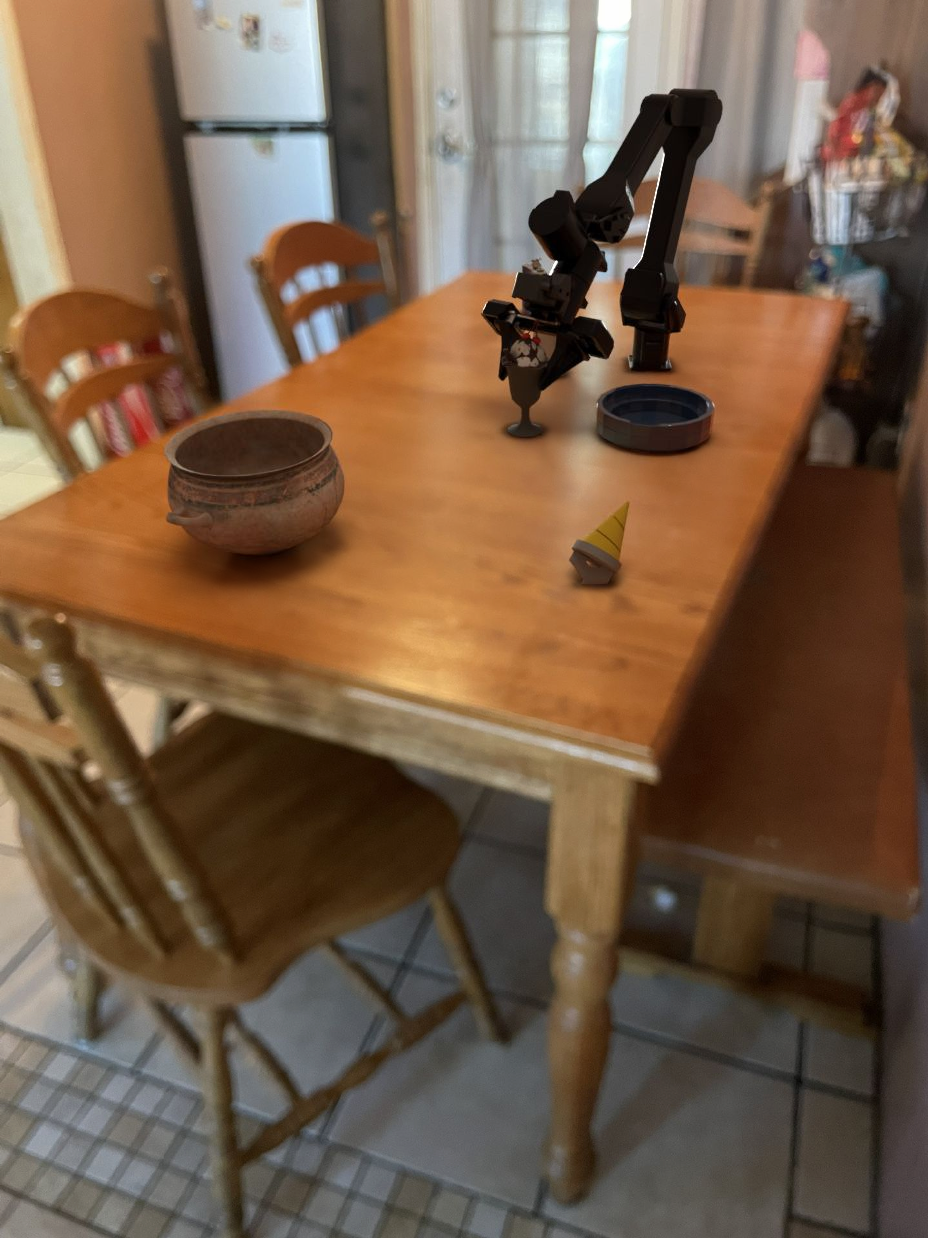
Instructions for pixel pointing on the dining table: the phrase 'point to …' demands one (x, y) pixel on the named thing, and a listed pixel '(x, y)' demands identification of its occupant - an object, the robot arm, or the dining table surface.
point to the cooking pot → (254, 480)
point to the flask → (535, 270)
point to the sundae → (525, 379)
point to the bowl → (654, 417)
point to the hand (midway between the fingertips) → (519, 384)
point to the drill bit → (601, 549)
